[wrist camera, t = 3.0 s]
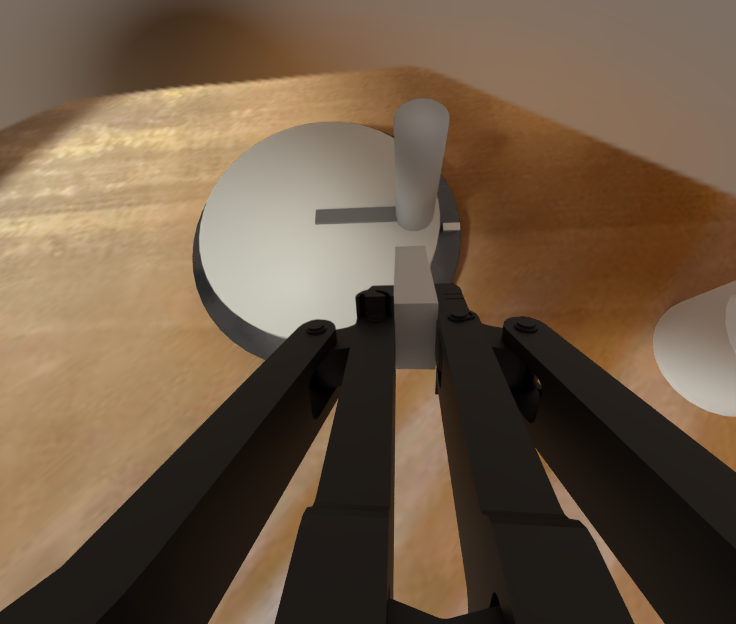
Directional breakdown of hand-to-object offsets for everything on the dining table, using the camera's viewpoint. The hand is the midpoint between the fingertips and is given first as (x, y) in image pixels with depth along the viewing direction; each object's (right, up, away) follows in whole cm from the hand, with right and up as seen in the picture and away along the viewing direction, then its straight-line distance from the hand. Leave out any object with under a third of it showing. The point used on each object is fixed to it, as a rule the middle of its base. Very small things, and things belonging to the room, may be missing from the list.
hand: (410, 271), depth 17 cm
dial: (-6, +5, +12) cm, 14 cm away
